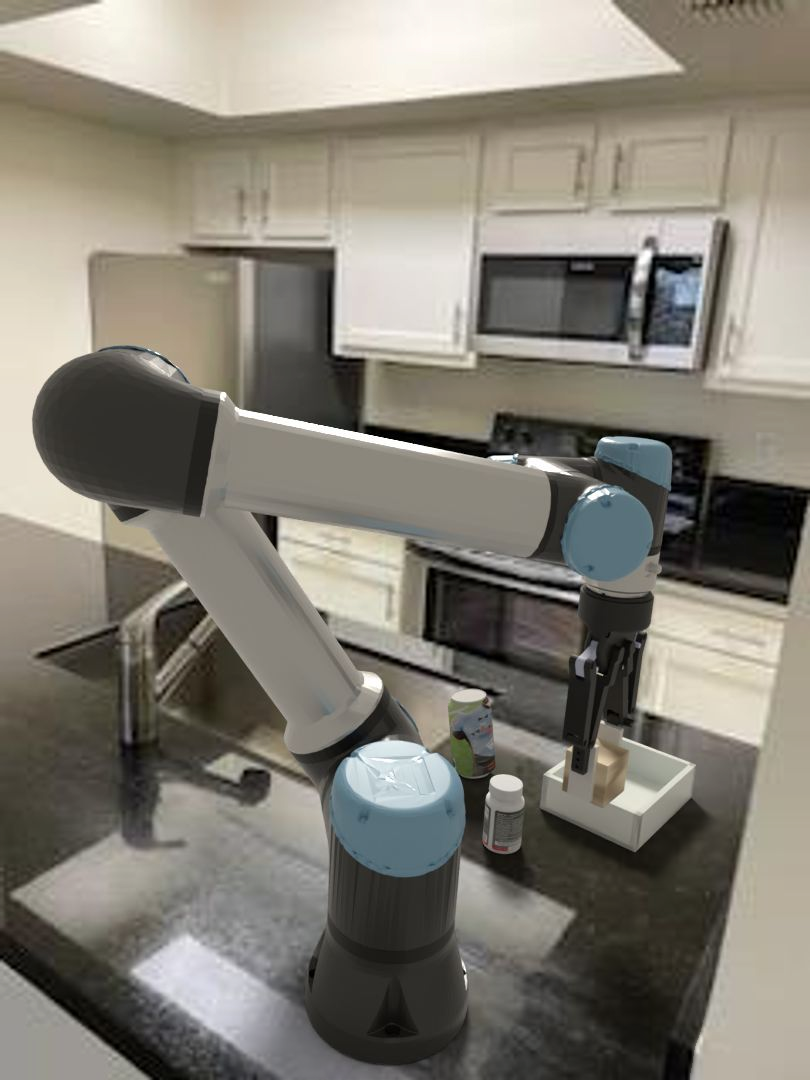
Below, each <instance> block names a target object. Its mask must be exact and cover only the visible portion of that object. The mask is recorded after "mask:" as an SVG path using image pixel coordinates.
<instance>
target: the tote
mask: <svg viewBox="0 0 810 1080" xmlns="http://www.w3.org/2000/svg"><path fill="white" fill-rule="evenodd" d="M621 747H622V748H625V749H627V750H629V757H628V765H627V772H626V780H625V787H624V791H623V792H622V793H621V794H620V795H618V796H617V797H616V798H615V799H614V800H612V801H611V802H610V803H609V804H608V805H606V806H605V807H604V808H601V807H598V806H596V805H594V804H592V803H588V802H586V801H584V800H582V799H579V798H577V797H575V796H573V795H570V794H568V793H567V792H564V791H562V785H563V776H564V767H565V759H563V760H561V761H560V762H559V763H557V764H556V765H554V766H553V767H552V768H550V769H549V770H547V771H546V772H545V773H543V774H542V781H541V782H542V783H541V790H540V791H541V793H540V800H539V801H540V803H539V809H540V810H542V811H545V812H547V813H549V814H552V815H553V816H555V817H558V818H560V819H562V820H565V821H566V822H568V823H571V824H573V825H574V826H577V827H579V828H581V829H583V830H586V831H589V832H591V833H592V834H594V835H597V836H598V837H601V838H603V839H604V840H608V841H609V842H611V843H614V844H616V845H618V846H619V847H623V848H624V849H627V850H629V851H631V852H632V853H633V852H634V853H637V851H638V850H639V849H640V848H642V846H643V845H644V844H645V843H646V842H647V841H649V839H651V837H652V836H653V835H655V834H656V833H657V832H658V831H659V830H660V829H661V828H662V827H663V826H664V825H665V824H666V823H667V822H668V821H669V820H670V819H671V818H672V817H673V816H674V815H675V814H676V813H677V812H679V810H680V809H681V808H683V806H684V805H686V803H687V802H689V801H690V800H691V798H692V796H693V789H694V784H695V777H696V770H697V764H695V763H693V762H690V761H688V760H686V759H682V758H679V757H678V756H674V755H672V754H669V753H666V752H663V751H661V750H658V749H655V748H653V747H650V746H647V745H645V744H642V743H640V742H637V741H634V740H632V739H628V738H626V737H624V736H623V737H622V745H621Z"/></svg>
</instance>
